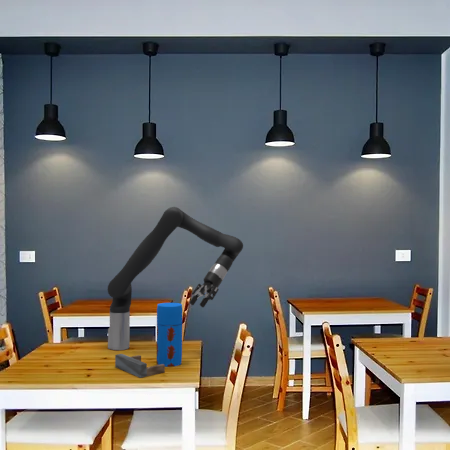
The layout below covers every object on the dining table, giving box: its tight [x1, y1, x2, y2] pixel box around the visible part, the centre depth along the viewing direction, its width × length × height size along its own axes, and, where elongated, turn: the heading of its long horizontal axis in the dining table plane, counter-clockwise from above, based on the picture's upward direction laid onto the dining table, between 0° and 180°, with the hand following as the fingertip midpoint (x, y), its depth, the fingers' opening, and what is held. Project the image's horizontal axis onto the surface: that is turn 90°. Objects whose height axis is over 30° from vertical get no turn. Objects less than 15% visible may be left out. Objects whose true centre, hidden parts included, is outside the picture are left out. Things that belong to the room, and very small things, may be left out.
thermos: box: [156, 302, 183, 368], centre depth 227 cm, size 11×11×25 cm
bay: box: [114, 353, 166, 379], centre depth 218 cm, size 12×19×5 cm, turn 41°
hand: (196, 305), depth 235 cm, fingers open, 8 cm apart
